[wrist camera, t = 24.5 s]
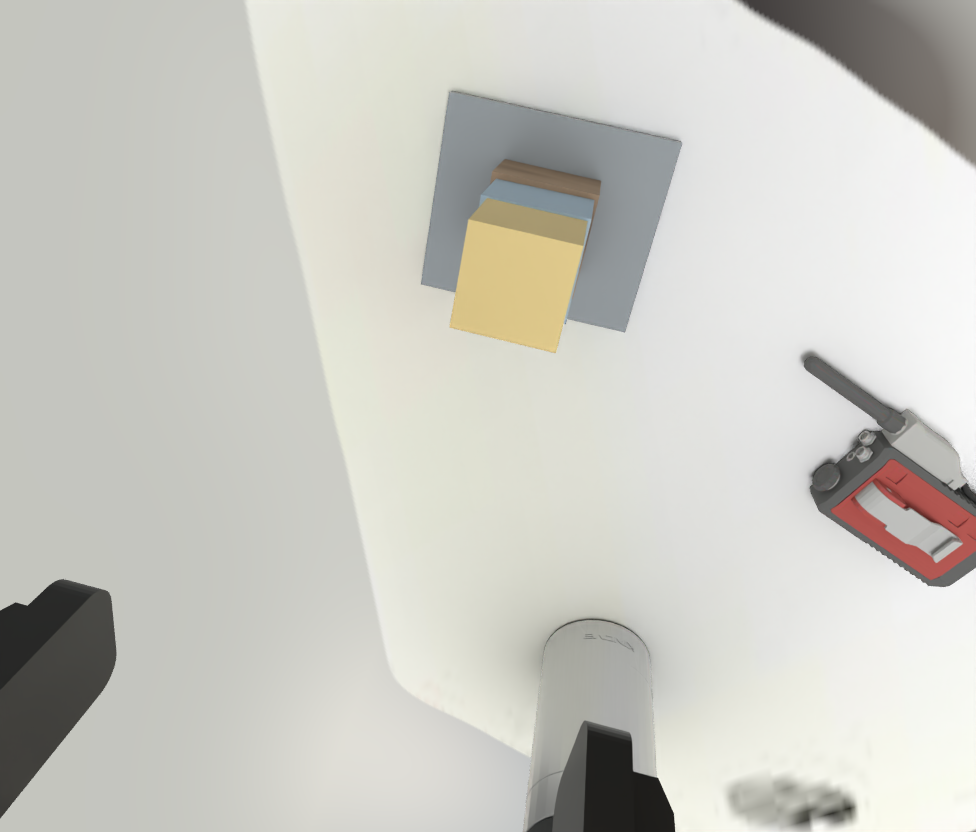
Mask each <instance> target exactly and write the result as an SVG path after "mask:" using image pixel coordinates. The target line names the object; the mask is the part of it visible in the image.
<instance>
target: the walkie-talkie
mask: <svg viewBox="0 0 976 832" xmlns="http://www.w3.org/2000/svg"><path fill="white" fill-rule="evenodd" d="M804 367H805V369H806V370H807V371H808V372H810V373H811V374H813V375H814V376H815V377H817V378H818V379H820V380H821V381H822V382H824V383H825V384H827V385H828V386H829V387H831V388H832V389H834V390H835V391H836V392H838V393H839V394H841V395H842V396H843V397H845V398H846V399H848V400H849V401H850V402H852V403H853V404H855V405H856V406H857V407H859V408H860V409H862V410H863V411H865V412H866V413H867V414H869V415H870V416H872V417H873V418H874V419H876V420H877V423H878V425H880V426H881V427H882V428H884V429H883V430H882V431H873V432H871V433H870V432H868V431H864V432H862V433H861V434H860V436H859V440H860V441H861V442H860V443H859V444H858V445H857V446H856V447H855V448H854V449H853V450H851V451H850V452H849V453H848V454H847V455H846V456H845V457H843V458H842V459H841V460H840V461H839V462H838V463H837V464H836V465H834V464H831V463H829V464H826V465H823V466H822V467H820V468H819V469H818V470H817V472H816V473H815V475H814V476H813V480H812V484H813V485H812V486H811V487H810V490H811V494H812V496H813V498H814V501H815V503H816V505H817V507H818V510H819V511H820V512H821V513H823V514H824V515H826V516H827V517H828V518H830V519H831V520H833V521H834V522H836V523H837V524H839V525H840V526H842V527H843V528H845V529H846V530H847V531H849V532H850V533H852V534H853V535H855V536H856V537H858V538H859V539H861V540H862V541H864V542H865V543H868V544H870V546H871V547H874V548H875V549H876V550H877V551H880V552H881V553H882V554H883V555H886V556H887V558H888V559H892V560H893V562H894V563H898V565H899V566H900V567H903V568H904V569H905V570H906V571H909V572H910V574H912V575H915V576H916V578H918V579H921V581H922V582H923V583H924V582H925V583H927V585H928V586H938V587H946V586H950V585H951V584H953V583H955V582H956V581H957V580H959V579H960V578H962V577H963V576H964V575H966V574H967V573H969V572H970V571H972V570H973V569H974V568H976V494H974V493H973V492H972V491H971V490H970V489H969V486H968V484H967V482H968V481H967V480H966V478H965V477H964V476H963V475H962V474H961V467H960V458H959V455H958V453H957V452H956V451H955V449H954V448H953V447H952V446H951V445H950V444H949V442H947V441H946V440H945V439H943V438H942V437H941V436H939V435H938V434H937V433H935V432H934V431H933V430H931V429H930V428H928V427H927V426H926V425H924V424H923V423H922V422H921V421H920V420H919V419H918V417H917V416H916V415H915V414H913V413H912V412H910V411H909V410H905V411H904V412H903V413H902V414H899V413H897V412H896V411H894V410H893V409H891V408H889V409H888V408H886V407H885V406H884V405H882V404H881V403H879V402H878V401H877V400H875V399H874V398H873V397H871V396H870V395H868V394H867V393H866V392H864V391H863V390H861V389H860V388H859V387H857V386H856V385H855V384H853V383H852V382H850V381H849V380H848V379H846V378H845V377H844V376H842V375H841V374H839V373H838V372H837V371H835V370H834V369H832V368H831V367H830V366H828V365H827V364H825V363H824V362H823V361H821V360H820V359H819V358H817V357H809V358H807V359H806V360H805V362H804ZM959 487H961V489H960V488H959Z"/></svg>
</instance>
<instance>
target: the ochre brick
mask: <svg viewBox="0 0 976 832" xmlns="http://www.w3.org/2000/svg"><path fill="white" fill-rule="evenodd" d="M587 222H588V221H585V220H581V219H576V218H572V217H568V216H563V215H559V214H555V213H550V212H546V211H542V210H537V209H533V208H529V207H524V206H520V205H516V204H511V203H507V202H503V201H499V200H494V199H490V198H487V199H486V200H485V201H484V202H483V203H482V204H481V206H480V207H479V208H478V209H477V210H476V211H475V212H474V214H473V215H472V216H471V217H470V218H469V219H468V225H467V231H466V236H465V242H464V248H463V253H462V259H461V265H460V270H459V276H458V282H457V288H456V293H455V299H454V305H453V310H452V316H451V322H450V328H454V329H458V330H462V331H466V332H470V333H474V334H479V335H483V336H487V337H491V338H495V339H499V340H503V341H508V342H512V343H516V344H520V345H524V346H528V347H532V348H536V349H541V350H545V351H549V352H553V353H556V350H557V346H558V343H559V339H560V335H561V331H562V327H563V323H564V319H565V316H566V312H567V308H568V304H569V300H570V296H571V292H572V289H573V285H574V281H575V277H576V273H577V269H578V266H579V262H580V258H581V254H582V250H583V246H584V240H585V234H586V228H587Z"/></svg>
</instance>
